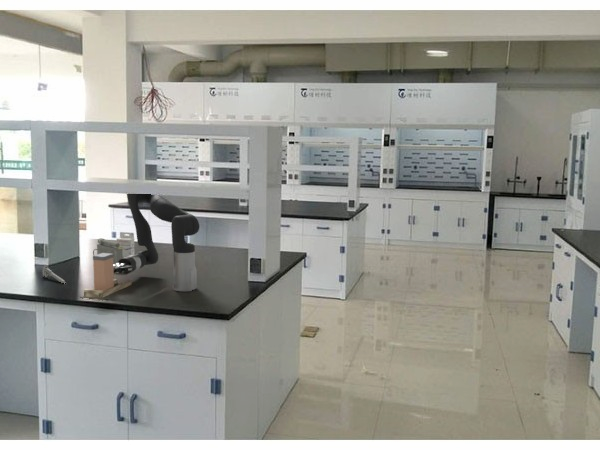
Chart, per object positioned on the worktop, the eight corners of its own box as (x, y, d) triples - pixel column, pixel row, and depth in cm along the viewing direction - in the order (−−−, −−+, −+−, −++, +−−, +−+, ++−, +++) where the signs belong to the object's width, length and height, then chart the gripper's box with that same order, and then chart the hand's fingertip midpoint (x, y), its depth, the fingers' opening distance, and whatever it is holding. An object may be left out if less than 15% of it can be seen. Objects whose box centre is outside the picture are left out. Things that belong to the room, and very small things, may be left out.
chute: (135, 287, 270) (135, 278, 269) (105, 301, 247) (105, 291, 246) (111, 285, 272) (111, 276, 272) (79, 298, 249) (79, 289, 249)
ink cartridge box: (116, 260, 327) (115, 233, 325) (119, 258, 332) (119, 231, 330) (131, 260, 326) (131, 233, 324) (135, 258, 331) (134, 232, 329)
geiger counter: (124, 242, 303) (98, 236, 320) (113, 243, 298) (87, 237, 315) (125, 269, 305) (99, 261, 321) (113, 271, 300) (88, 263, 317)
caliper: (42, 277, 286) (42, 264, 285) (45, 276, 287) (44, 264, 286) (64, 284, 273) (63, 271, 272) (66, 284, 274) (66, 270, 273)
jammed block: (114, 290, 259) (113, 253, 257) (104, 294, 252) (103, 256, 250) (103, 289, 260) (102, 252, 258) (94, 293, 253) (92, 256, 251)
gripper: (116, 255, 276) (94, 262, 259) (142, 257, 273) (121, 264, 256) (116, 271, 277) (95, 279, 260) (142, 273, 274) (122, 282, 257)
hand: (108, 272), depth 258 cm, fingers closed
